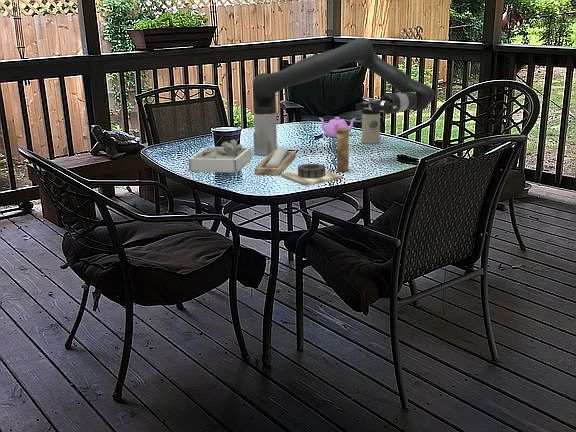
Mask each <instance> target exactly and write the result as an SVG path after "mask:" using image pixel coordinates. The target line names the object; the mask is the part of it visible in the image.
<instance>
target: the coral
mask: <svg viewBox="0 0 576 432" xmlns="http://www.w3.org/2000/svg"><path fill="white" fill-rule="evenodd" d="M220 147H224V151H225V152H226V154H225V153H223V152H222V151H221V150H219V149H218V148H215V149H207V150H205V151H204V152H203V154H202V157H201V159H235V158H236V157H238V156H239V155H237V152H238V151H240V150H241V149H242V147H243V144H241V143H239V144H238V142H237V140H235V139H231V140H230V141H229V142H228V141H224V142H222V143H221V145H220Z"/></svg>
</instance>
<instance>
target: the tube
mask: <svg viewBox="0 0 576 432" xmlns="http://www.w3.org/2000/svg"><path fill="white" fill-rule="evenodd" d="M287 151H288V149H287V148H286V147H284V146H277V149H276V150H275V153H274V154H273V156H272V157H271V159H270V160H269V162H268V163H267V164H266V168H277V167H278V166H279V165H280V164H281V163H282V161H283V160H284V159H285V157H286V156H287Z"/></svg>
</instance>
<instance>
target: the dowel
mask: <svg viewBox="0 0 576 432" xmlns="http://www.w3.org/2000/svg"><path fill="white" fill-rule="evenodd" d="M349 135H350V131H349V128H337V137H336V172H337V171H338V172H337V173H347V172H349V171H350V170H349V169H350V168H349V165H350V164H349V159H350V158H349V156H350V155H349V154H350V153H349V151H350V147H349V146H350V145H349V143H350V141H349V140H350V139H349V138H350V137H349Z"/></svg>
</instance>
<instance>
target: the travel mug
mask: <svg viewBox="0 0 576 432" xmlns="http://www.w3.org/2000/svg"><path fill="white" fill-rule="evenodd" d="M373 103H374V102H373ZM371 108H372V107H371ZM380 131H381V112H380V111H379V112H372V110H369V109H361V143H363V144H365V145H375V144H379V143H380V142H381V141H380V140H381V132H380Z"/></svg>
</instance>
